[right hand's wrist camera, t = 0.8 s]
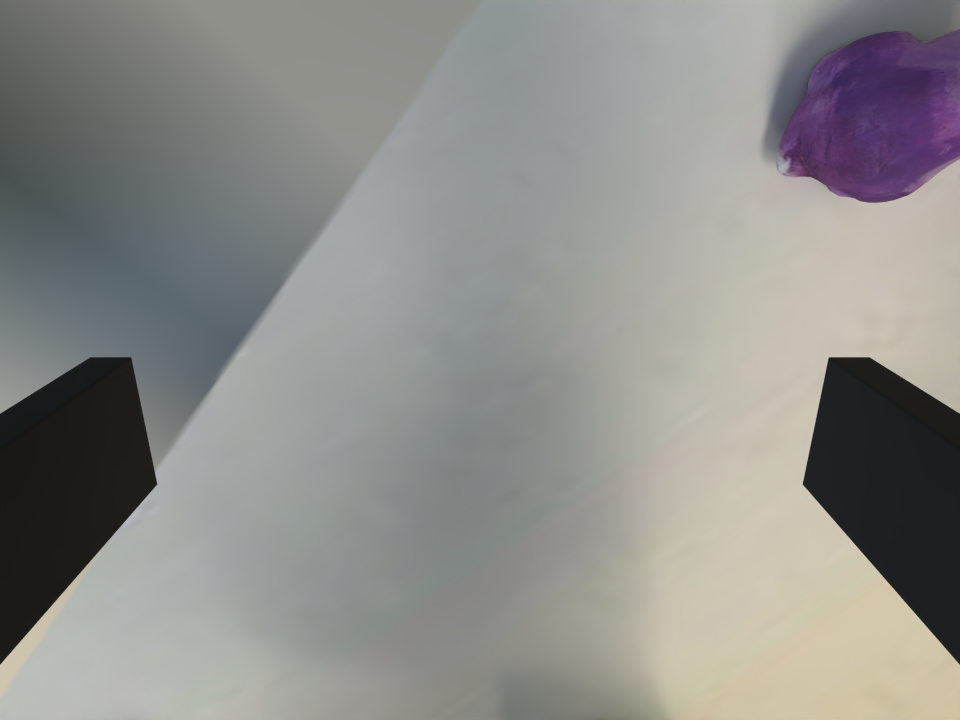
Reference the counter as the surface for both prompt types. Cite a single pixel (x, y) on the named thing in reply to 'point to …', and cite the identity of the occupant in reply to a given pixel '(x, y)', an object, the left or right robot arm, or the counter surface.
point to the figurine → (878, 117)
